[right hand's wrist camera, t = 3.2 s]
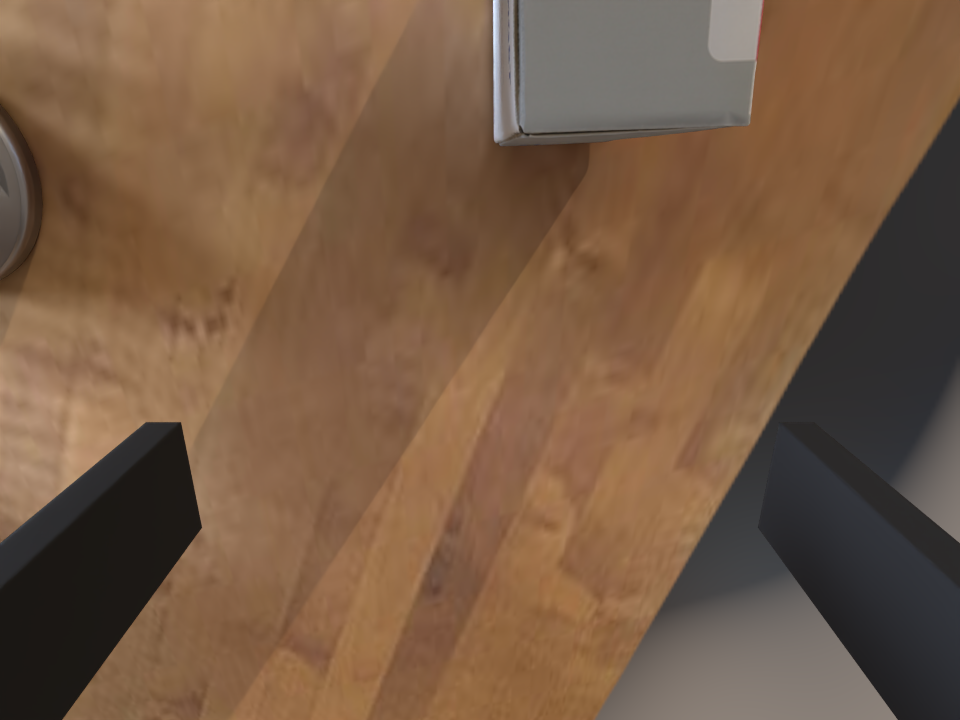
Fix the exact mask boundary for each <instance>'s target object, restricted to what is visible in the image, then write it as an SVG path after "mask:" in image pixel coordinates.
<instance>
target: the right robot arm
mask: <svg viewBox="0 0 960 720" xmlns="http://www.w3.org/2000/svg"><path fill="white" fill-rule="evenodd" d="M41 219H42V191H41V185H40V179H39V175H38V171H37V168H36V165H35V162H34V159H33V156H32V154H31V152H30V149H29V147H28V145H27V143H26V141H25V139H24V137H23V135H22V134H21V132H20V130H19V129H18V127H17V126H16V124H15V122H14V121H13V120H12V118H11V117H10V116H9V114H8V113H7V112H6V110H5V109H4V108H3V107H2V106H1V104H0V280H1V279H3V278H5V277H6V276H8V275H10V274H11V273H12V272H13V271H15V270H16V269H17V268H18V267H19V266H20V265H21V264H22V263H23V262H24V260H25V259H26V258H27V256H28V255H29V254H30V252H31V250H32V248H33V246H34V244H35V242H36V239H37V237H38V233H39V230H40V226H41ZM201 528H202V525H201V520H200V515H199V510H198V505H197V500H196V495H195V490H194V485H193V480H192V475H191V470H190V465H189V460H188V455H187V450H186V445H185V440H184V435H183V430H182V425H181V422H146V423H145V424H143V425H142V426H141V427H140V428H139V429H137V430H136V431H135V432H134V433H133V434H131V435H130V436H129V437H128V438H127V439H125V440H124V441H123V442H122V443H121V444H119V445H118V446H117V447H116V448H115V449H113V450H112V451H111V452H110V453H109V454H107V455H106V456H105V457H104V458H102V459H101V460H100V461H99V462H98V463H96V464H95V465H94V466H93V467H92V468H90V469H89V470H88V471H87V472H86V473H84V474H83V475H82V476H81V477H80V478H78V479H77V480H76V481H75V482H74V483H72V484H71V485H70V486H69V487H68V488H66V489H65V490H64V491H63V492H61V493H60V494H59V495H58V496H57V497H55V498H54V499H53V500H52V501H51V502H49V503H48V504H47V505H46V506H45V507H43V508H42V509H41V510H40V511H39V512H37V513H36V514H35V515H34V516H33V517H31V518H30V519H29V520H28V521H27V522H25V523H24V524H23V525H22V526H20V527H19V528H18V529H17V530H16V531H14V532H13V533H12V534H11V535H10V536H8V537H7V538H6V539H5V540H4V541H2V542H1V543H0V720H62V719H63V718H64V716H65V715H66V714H67V712H68V711H69V710H70V708H71V707H72V705H73V704H74V703H75V701H76V700H77V699H78V697H79V696H80V694H81V693H82V692H83V690H84V689H85V688H86V686H87V685H88V683H89V682H90V681H91V679H92V678H93V677H94V675H95V674H96V672H97V671H98V670H99V668H100V667H101V666H102V664H103V663H104V661H105V660H106V659H107V657H108V656H109V655H110V653H111V652H112V650H113V649H114V648H115V646H116V645H117V644H118V642H119V641H120V639H121V638H122V637H123V635H124V634H125V633H126V631H127V630H128V628H129V627H130V626H131V624H132V623H133V622H134V620H135V619H136V617H137V616H138V615H139V613H140V612H141V611H142V609H143V608H144V606H145V605H146V604H147V602H148V601H149V600H150V598H151V597H152V595H153V594H154V593H155V591H156V590H157V589H158V587H159V586H160V584H161V583H162V582H163V580H164V579H165V578H166V576H167V575H168V573H169V572H170V571H171V569H172V568H173V567H174V565H175V564H176V562H177V561H178V560H179V558H180V557H181V556H182V554H183V553H184V552H185V550H186V549H187V547H188V546H189V545H190V543H191V542H192V541H193V539H194V538H195V536H196V535H197V534H198V532H199V531H200V530H201ZM758 528H759V530H760V531H761V532H762V534H763V535H764V536H765V538H766V539H767V541H768V542H769V543H770V545H771V546H772V547H773V549H774V550H775V551H776V553H777V554H778V556H779V557H780V558H781V560H782V561H783V562H784V564H785V565H786V567H787V568H788V569H789V571H790V572H791V573H792V575H793V576H794V578H795V579H796V580H797V582H798V583H799V584H800V586H801V587H802V589H803V590H804V591H805V593H806V594H807V595H808V597H809V598H810V600H811V601H812V602H813V604H814V605H815V606H816V608H817V609H818V611H819V612H820V613H821V615H822V616H823V617H824V619H825V620H826V622H827V623H828V624H829V626H830V627H831V628H832V630H833V631H834V633H835V634H836V635H837V637H838V638H839V639H840V641H841V642H842V644H843V645H844V646H845V648H846V649H847V650H848V652H849V653H850V655H851V656H852V657H853V659H854V660H855V661H856V663H857V664H858V666H859V667H860V668H861V670H862V671H863V672H864V674H865V675H866V677H867V678H868V679H869V681H870V682H871V683H872V685H873V686H874V688H875V689H876V690H877V692H878V693H879V694H880V696H881V697H882V699H883V700H884V701H885V703H886V704H887V705H888V707H889V708H890V710H891V711H892V712H893V714H894V715H895V716H896V718H897V719H898V720H960V543H959V542H958V541H956V540H955V539H954V538H953V537H952V536H950V535H949V534H948V533H947V532H946V531H944V530H943V529H942V528H941V527H940V526H938V525H937V524H936V523H935V522H933V521H932V520H931V519H930V518H929V517H927V516H926V515H925V514H924V513H922V512H921V511H920V510H919V509H918V508H917V507H915V506H914V505H913V504H912V503H911V502H909V501H908V500H907V499H906V498H905V497H903V496H902V495H901V494H900V493H899V492H897V491H896V490H895V489H894V488H892V487H891V486H890V485H889V484H888V483H886V482H885V481H884V480H883V479H882V478H880V477H879V476H878V475H877V474H876V473H874V472H873V471H872V470H871V469H870V468H868V467H867V466H866V465H865V464H864V463H862V462H861V461H860V460H859V459H857V458H856V457H855V456H854V455H853V454H851V453H850V452H849V451H848V450H847V449H845V448H844V447H843V446H842V445H841V444H839V443H838V442H837V441H836V440H835V439H833V438H832V437H831V436H830V435H829V434H827V433H826V432H825V431H824V430H823V429H821V428H820V427H819V426H818V425H817V424H815V423H814V422H780V423H779V425H778V430H777V435H776V440H775V445H774V450H773V455H772V460H771V465H770V470H769V475H768V480H767V485H766V490H765V496H764V500H763V505H762V510H761V515H760V520H759V525H758Z"/></svg>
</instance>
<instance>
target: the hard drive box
mask: <svg viewBox="0 0 960 720" xmlns="http://www.w3.org/2000/svg"><path fill="white" fill-rule="evenodd" d="M763 7H764V0H493V45H494V141H495V142H496V143H499V145H500V146H526V145H551V144H572V143H592V142H606V141H612V140H618V139H627V138H637V137H648V136H658V135H667V134H676V133H685V132H694V131H702V130H709V129H716V128H724V127H731V126H748V125H749V124H750V117H751V107H752V97H753V88H754V78H755V70H756V64H757V58H758V51H759V42H760V33H761V24H762V16H763Z"/></svg>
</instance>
